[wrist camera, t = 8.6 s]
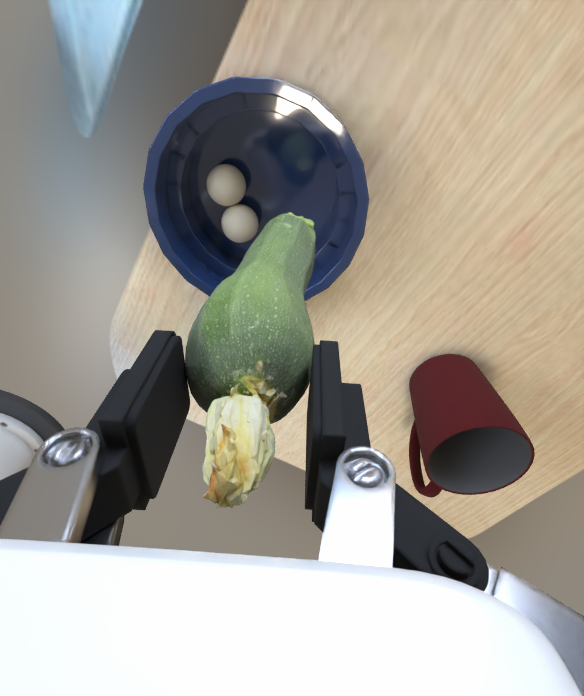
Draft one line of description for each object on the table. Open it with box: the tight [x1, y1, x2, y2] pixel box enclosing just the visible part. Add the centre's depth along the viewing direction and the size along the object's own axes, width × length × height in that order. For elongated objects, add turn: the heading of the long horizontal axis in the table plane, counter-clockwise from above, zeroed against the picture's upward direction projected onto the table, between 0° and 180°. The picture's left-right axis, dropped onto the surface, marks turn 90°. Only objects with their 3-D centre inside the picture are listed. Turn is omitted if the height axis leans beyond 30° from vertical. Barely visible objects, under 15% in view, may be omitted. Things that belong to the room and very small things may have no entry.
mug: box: [409, 354, 534, 497], centre depth 39 cm, size 12×9×11 cm
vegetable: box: [185, 212, 316, 509], centre depth 16 cm, size 4×4×20 cm
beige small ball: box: [206, 164, 246, 206], centre depth 30 cm, size 3×3×3 cm
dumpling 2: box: [221, 204, 259, 243], centre depth 32 cm, size 3×3×3 cm
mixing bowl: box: [143, 77, 369, 301], centre depth 30 cm, size 16×16×6 cm
